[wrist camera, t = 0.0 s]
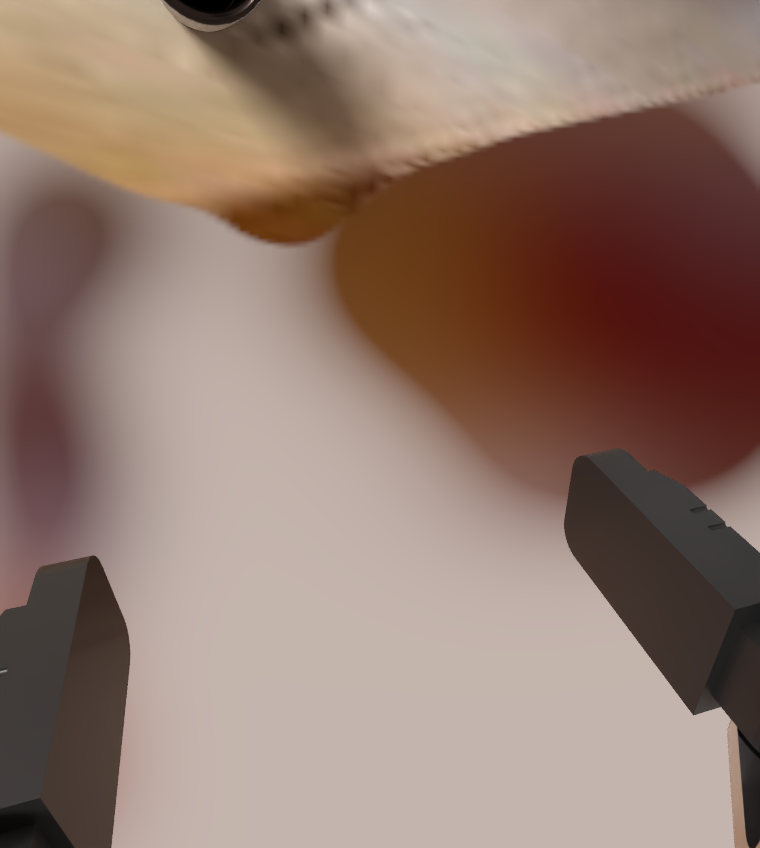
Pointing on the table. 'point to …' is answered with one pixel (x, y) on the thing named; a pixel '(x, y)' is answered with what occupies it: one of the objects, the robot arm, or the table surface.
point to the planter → (210, 12)
